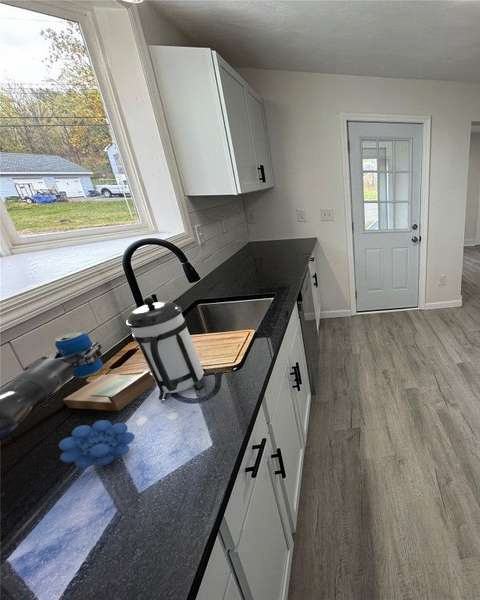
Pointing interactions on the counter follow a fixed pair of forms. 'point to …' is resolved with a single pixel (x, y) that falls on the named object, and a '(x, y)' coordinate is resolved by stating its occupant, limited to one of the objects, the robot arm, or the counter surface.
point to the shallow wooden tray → (110, 392)
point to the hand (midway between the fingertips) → (83, 347)
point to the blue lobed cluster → (96, 444)
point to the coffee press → (166, 346)
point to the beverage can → (77, 343)
